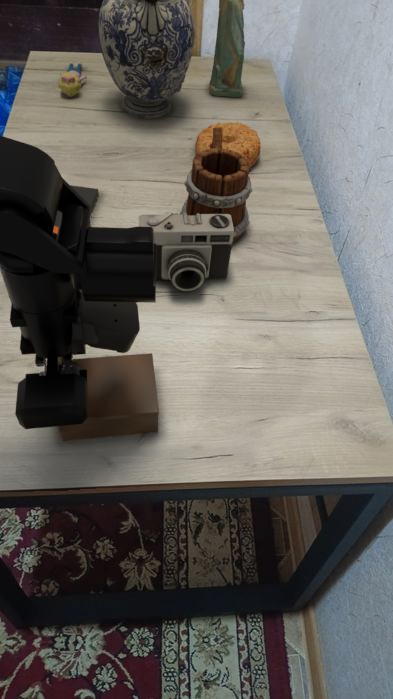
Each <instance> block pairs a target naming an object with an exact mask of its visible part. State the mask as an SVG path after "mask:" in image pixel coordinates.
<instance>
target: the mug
mask: <svg viewBox="0 0 393 699" xmlns="http://www.w3.org/2000/svg"><path fill="white" fill-rule="evenodd" d="M222 137H223V136H222V128H221V127H214V128H213V140H212V143H211V144H210V149H207V150H204V151H202V152H200V153H199V154H196V155H195V156H194V158H193V159H192V166H191V169H190V170H189V172H188V173H187V175H186V180H185V181H184V184H183V185H184V186H185V188H186V191H187V199H185V201H184V203H183V204H182V207H181V211H179V213H178V214H182V215H184V213H186V214H187V215H188V216H195V215H196V214H198V213H199V214H229V215H231V218H232V223H233V227H234V235H233V242H234V241H237V240H238V239H239V238H240V237H241V236H242V234H243V233H244V232H245V231H246V230H247V227H248V226H249V225H250V220H249V217H250V216H249V210H248V207H247V206H246V205H247V200H248V199H249V198H250V195H251V193H252V192H253V188H252V180H251V177H250V176H249V175H250V174H249V173H250V168H249V164H248V161H247V160H246V159H245V158H242V155H240V154H239V153H237V152H235V151H232V150H229V149H222Z"/></svg>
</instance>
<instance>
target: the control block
mask: <svg viewBox="0 0 393 699" xmlns="http://www.w3.org/2000/svg"><path fill="white" fill-rule="evenodd" d="M69 185H70V186H71V187H72V188H73V189H74V190H75V191H76V192H77V193H78V194H79V195H80V196H81V197H82V198H83V199H84V200H85V201H86V202H87V203H88V204H89V205H90V206H91V208H92V209H91V213H93V210H94V208H95V205H96V202H97V200H98V198H99V196H100V193H99V188H96V187H95V188H93V187H87V186H79V185H71V184H69ZM61 214H62V212H60V211H57V216H56V220H55V225H54V226H57V227H59V224H60V219H61Z"/></svg>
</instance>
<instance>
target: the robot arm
mask: <svg viewBox="0 0 393 699" xmlns="http://www.w3.org/2000/svg"><path fill="white" fill-rule="evenodd" d="M70 185H71V184H69V183H68V182H67V180H65V179H64V178H63V177H62V174H61V172H60V171H59V169H58V167H57V165H56V162H55V160H54V158H52V156H50V155H49V154H48V153H47V152H46V151H44V150H42V149H41V148H39V147H37V146H34V145H32V144H30V143H25V142H22V141H19V140H15V139H13V138H9V137H6V136H3V135H0V274H1V277H2V280H3V282H4V285H5V288H6V291H7V294H8V298H9V300H10V303H11V304H10V305H11V306H10V312H9V313H10V314H9V322H10V325H11V328H19V329H20V341H19V350H20V354H21V355H35V356H34V364H35V366H36V367H37V368H40V367H44V370H43V371H40V372H34V373H26V374H25V377H24V378H22V379H21V380H20V381H18V383H17V389H16V390H17V391H16V401H15V402H16V403H15V414H14V415H15V418H16V419H17V422H18V424H19V425H20V426H21V427H22V428H24V430H32V429H40V428H41V429H44V428H55V427H58V426H66V425H77V424H83V423H84V422H85V421H86V420H87V419H88V392H87V369H85V370H79V365H78V363H76V362H74V361H72V360H73V359H74V356H80V355H86V354H87V347H86V346H88V347H90V348H93V349H99V350H107V351H115V352H116V353H118V354H119V353H120V354H126V353H128V352H129V351H130V350H131V348H132V346H133V344H134V342H135V340H136V338H137V336H138V335H139V332H140V329H141V328H140V326H141V324H140V317H139V306H138V304H137V303H149V304H150V303H151V304H152V303H156V298H157V297H156V295H157V293H156V289H157V280H156V243H154V229H153V228H152V227H139V226H132V227H104V226H92V225H91V216H92V212H91V209H92V208H91V206H90V205H89V204H88V203H87V202H86V201H85V200H84V199H83V198H82V197H81V196H80V195H79V194H78V193H77V192H76V191H75V190H74V189H73V188H72V187H71V186H70ZM57 211H60V212H62V214H61V219H60V224H59V229H58V233H57V234H56V233H54V232H53V230H54V225H55V220H56V216H57ZM60 357H62V361H63V362H61V363H62V364H61V365H60Z"/></svg>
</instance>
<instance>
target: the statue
mask: <svg viewBox="0 0 393 699" xmlns="http://www.w3.org/2000/svg"><path fill="white" fill-rule="evenodd" d="M218 2H219V3H218V17H217V28H216V39H215V47H214V54H213V65H212V70H211V75H210V81H209V93H210V94H211V95H212V96H216V97H230V98H241V97H242V94H243V86H242V85H243V84H242V77H243V76H242V74H243V68H244V61H245V46H246V42H245V33H244V32H245V31H244V28H245V18H244V10H245V2H244V0H218Z"/></svg>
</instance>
